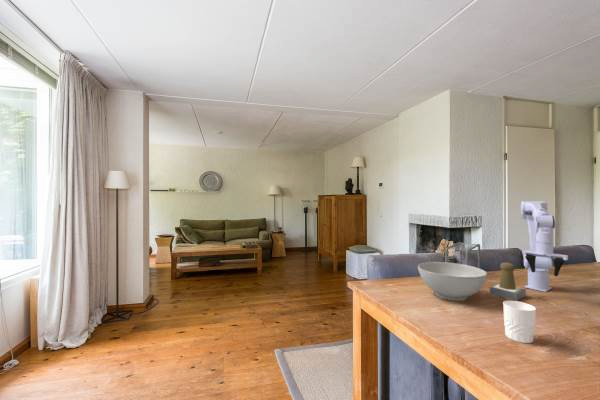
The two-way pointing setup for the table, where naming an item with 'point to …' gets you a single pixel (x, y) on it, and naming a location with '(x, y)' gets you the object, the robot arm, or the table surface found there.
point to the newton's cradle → (464, 252)
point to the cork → (507, 276)
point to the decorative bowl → (452, 279)
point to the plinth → (508, 292)
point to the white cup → (519, 321)
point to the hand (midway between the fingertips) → (544, 273)
